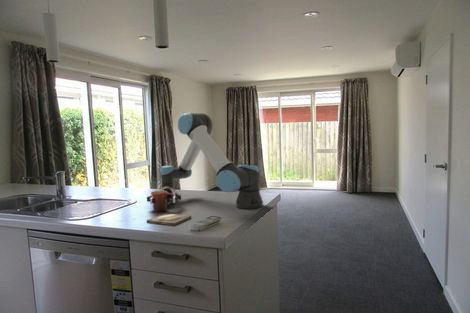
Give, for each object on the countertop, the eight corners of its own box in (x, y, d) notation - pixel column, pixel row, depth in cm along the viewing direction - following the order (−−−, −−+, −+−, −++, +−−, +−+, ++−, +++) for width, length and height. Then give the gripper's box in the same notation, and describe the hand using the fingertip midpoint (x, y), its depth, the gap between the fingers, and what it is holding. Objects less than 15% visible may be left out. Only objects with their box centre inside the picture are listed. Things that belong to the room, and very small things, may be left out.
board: (191, 218, 163) (191, 215, 163) (174, 225, 151) (174, 222, 151) (165, 215, 170) (164, 212, 170) (146, 222, 158) (146, 219, 158)
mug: (150, 213, 176) (149, 193, 175) (154, 209, 185) (153, 191, 184) (172, 212, 176) (171, 193, 175) (175, 208, 185) (174, 190, 184)
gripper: (186, 198, 200) (185, 206, 178) (146, 201, 197) (140, 209, 175) (186, 186, 199) (184, 192, 177) (145, 188, 197) (139, 195, 175)
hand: (162, 201), depth 176 cm, fingers closed on mug, 11 cm apart
